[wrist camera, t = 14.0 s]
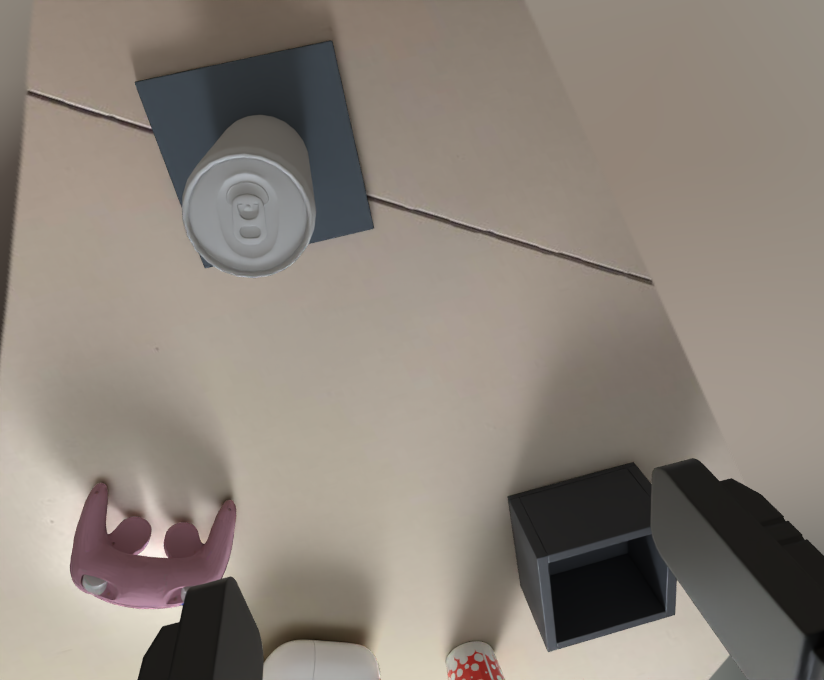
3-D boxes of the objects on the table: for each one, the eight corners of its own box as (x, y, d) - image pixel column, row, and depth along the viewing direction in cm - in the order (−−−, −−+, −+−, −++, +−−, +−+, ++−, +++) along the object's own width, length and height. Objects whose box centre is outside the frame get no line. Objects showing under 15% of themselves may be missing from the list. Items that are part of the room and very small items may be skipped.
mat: (331, 40, 30) (332, 40, 30) (373, 226, 35) (374, 228, 34) (136, 81, 29) (134, 82, 29) (205, 265, 34) (204, 268, 34)
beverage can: (307, 114, 31) (314, 149, 20) (311, 205, 33) (319, 280, 23) (212, 112, 30) (168, 147, 20) (222, 206, 32) (186, 283, 22)
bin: (633, 461, 47) (679, 518, 41) (634, 553, 52) (675, 614, 46) (507, 496, 46) (536, 558, 41) (520, 585, 51) (548, 652, 46)
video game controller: (91, 502, 42) (56, 607, 37) (89, 475, 38) (50, 588, 34) (233, 519, 44) (216, 619, 40) (243, 496, 41) (225, 602, 37)
